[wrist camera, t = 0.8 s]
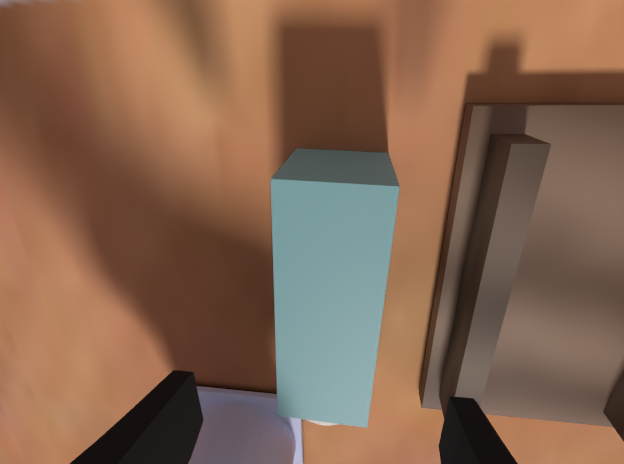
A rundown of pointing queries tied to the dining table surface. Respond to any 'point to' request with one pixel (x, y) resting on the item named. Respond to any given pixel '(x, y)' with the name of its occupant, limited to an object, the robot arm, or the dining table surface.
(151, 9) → the dining table surface
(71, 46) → the dining table surface
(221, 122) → the dining table surface
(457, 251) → the cradle
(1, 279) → the dining table surface
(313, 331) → the tall teal pillar block
